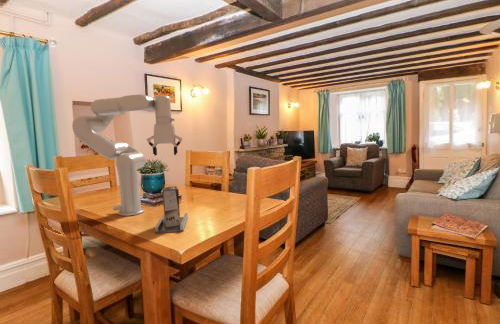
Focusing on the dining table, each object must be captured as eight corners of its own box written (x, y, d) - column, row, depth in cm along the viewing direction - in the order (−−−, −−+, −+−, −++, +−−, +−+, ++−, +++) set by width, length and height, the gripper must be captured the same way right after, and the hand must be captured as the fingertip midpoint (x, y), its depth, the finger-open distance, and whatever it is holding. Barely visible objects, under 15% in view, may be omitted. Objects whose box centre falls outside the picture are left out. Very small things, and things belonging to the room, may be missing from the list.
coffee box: (180, 225, 121) (178, 189, 120) (165, 227, 119) (163, 191, 117) (178, 219, 130) (176, 185, 128) (163, 221, 128) (161, 187, 126)
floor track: (155, 233, 115) (155, 227, 115) (163, 219, 133) (163, 214, 132) (183, 231, 116) (183, 225, 116) (187, 218, 134) (187, 213, 134)
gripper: (182, 121, 143) (183, 154, 145) (147, 121, 141) (149, 155, 143) (180, 120, 136) (182, 155, 138) (143, 121, 134) (146, 156, 136)
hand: (165, 155), depth 140 cm, fingers open, 9 cm apart
